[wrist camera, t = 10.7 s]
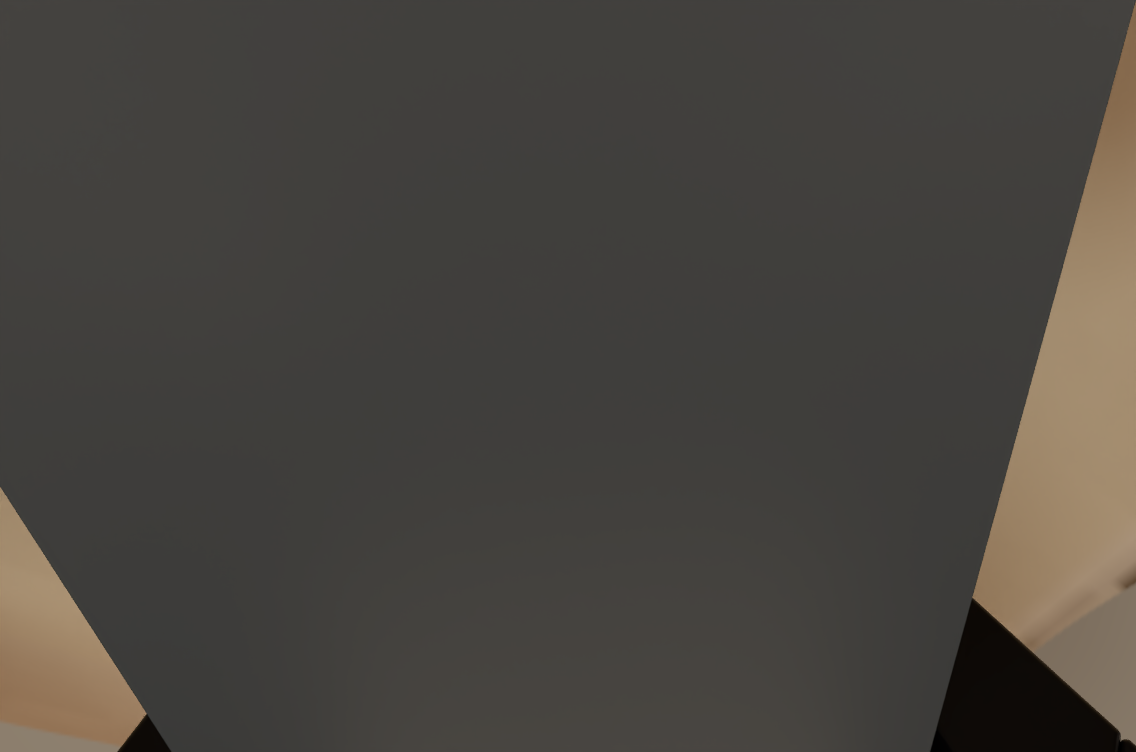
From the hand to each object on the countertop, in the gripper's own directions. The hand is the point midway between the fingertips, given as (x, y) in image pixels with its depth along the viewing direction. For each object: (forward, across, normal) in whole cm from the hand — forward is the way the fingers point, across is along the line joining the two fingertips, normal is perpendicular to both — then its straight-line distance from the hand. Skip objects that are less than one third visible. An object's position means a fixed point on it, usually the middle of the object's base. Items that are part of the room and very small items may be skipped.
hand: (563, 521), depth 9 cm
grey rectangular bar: (+1, 0, 0) cm, 1 cm away
